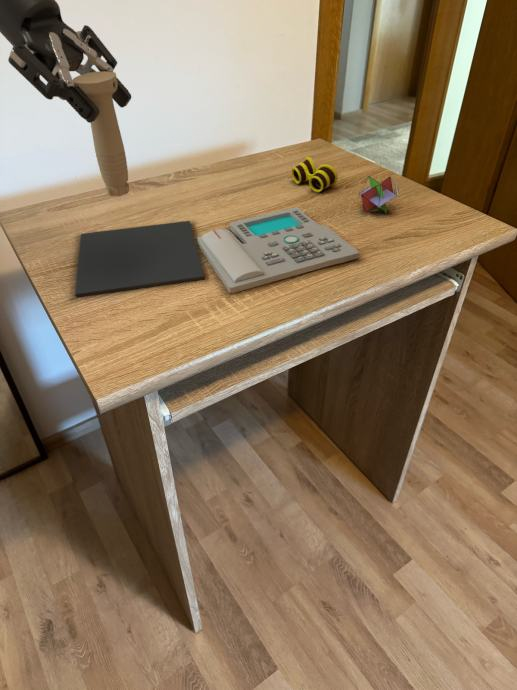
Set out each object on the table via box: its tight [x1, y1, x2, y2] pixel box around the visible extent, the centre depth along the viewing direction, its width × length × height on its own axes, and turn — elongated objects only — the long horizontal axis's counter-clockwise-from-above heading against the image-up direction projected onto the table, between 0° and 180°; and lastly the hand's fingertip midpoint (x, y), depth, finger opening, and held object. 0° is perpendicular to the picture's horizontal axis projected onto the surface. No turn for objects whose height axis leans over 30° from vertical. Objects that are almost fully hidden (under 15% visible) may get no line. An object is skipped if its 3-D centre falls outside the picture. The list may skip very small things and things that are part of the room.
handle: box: [72, 70, 130, 197], centre depth 66 cm, size 5×6×15 cm
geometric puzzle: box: [358, 175, 400, 214], centre depth 93 cm, size 7×7×8 cm
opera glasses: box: [290, 156, 339, 193], centre depth 104 cm, size 10×5×5 cm, turn 39°
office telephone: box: [197, 207, 360, 294], centre depth 84 cm, size 23×3×20 cm
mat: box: [74, 220, 206, 298], centre depth 83 cm, size 20×20×1 cm
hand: (111, 109), depth 63 cm, fingers closed on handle, 6 cm apart
